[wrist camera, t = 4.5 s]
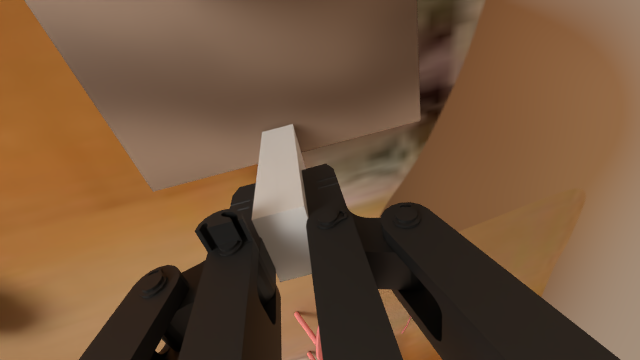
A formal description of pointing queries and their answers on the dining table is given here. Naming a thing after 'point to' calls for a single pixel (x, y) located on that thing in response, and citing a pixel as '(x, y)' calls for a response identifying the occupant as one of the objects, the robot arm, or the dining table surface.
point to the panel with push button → (237, 74)
